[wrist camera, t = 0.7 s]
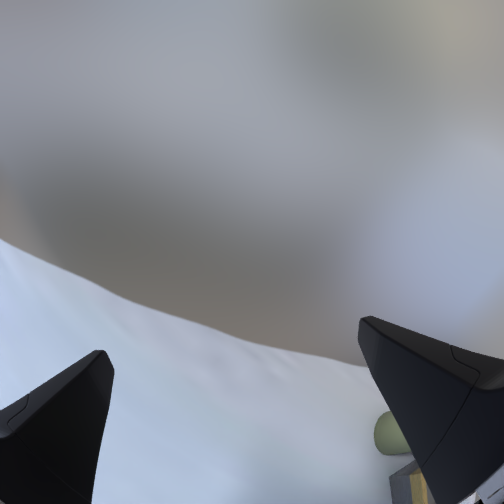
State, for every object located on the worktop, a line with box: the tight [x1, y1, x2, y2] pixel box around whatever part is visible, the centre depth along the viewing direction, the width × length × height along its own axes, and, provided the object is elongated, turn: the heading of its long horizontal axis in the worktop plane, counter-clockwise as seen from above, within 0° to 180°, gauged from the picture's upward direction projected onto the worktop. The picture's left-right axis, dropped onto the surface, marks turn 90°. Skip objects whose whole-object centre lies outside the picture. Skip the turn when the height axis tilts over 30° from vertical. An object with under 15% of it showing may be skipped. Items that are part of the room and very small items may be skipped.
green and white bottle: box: [374, 411, 412, 455], centre depth 18 cm, size 6×6×15 cm
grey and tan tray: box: [389, 460, 436, 504], centre depth 16 cm, size 11×11×4 cm
